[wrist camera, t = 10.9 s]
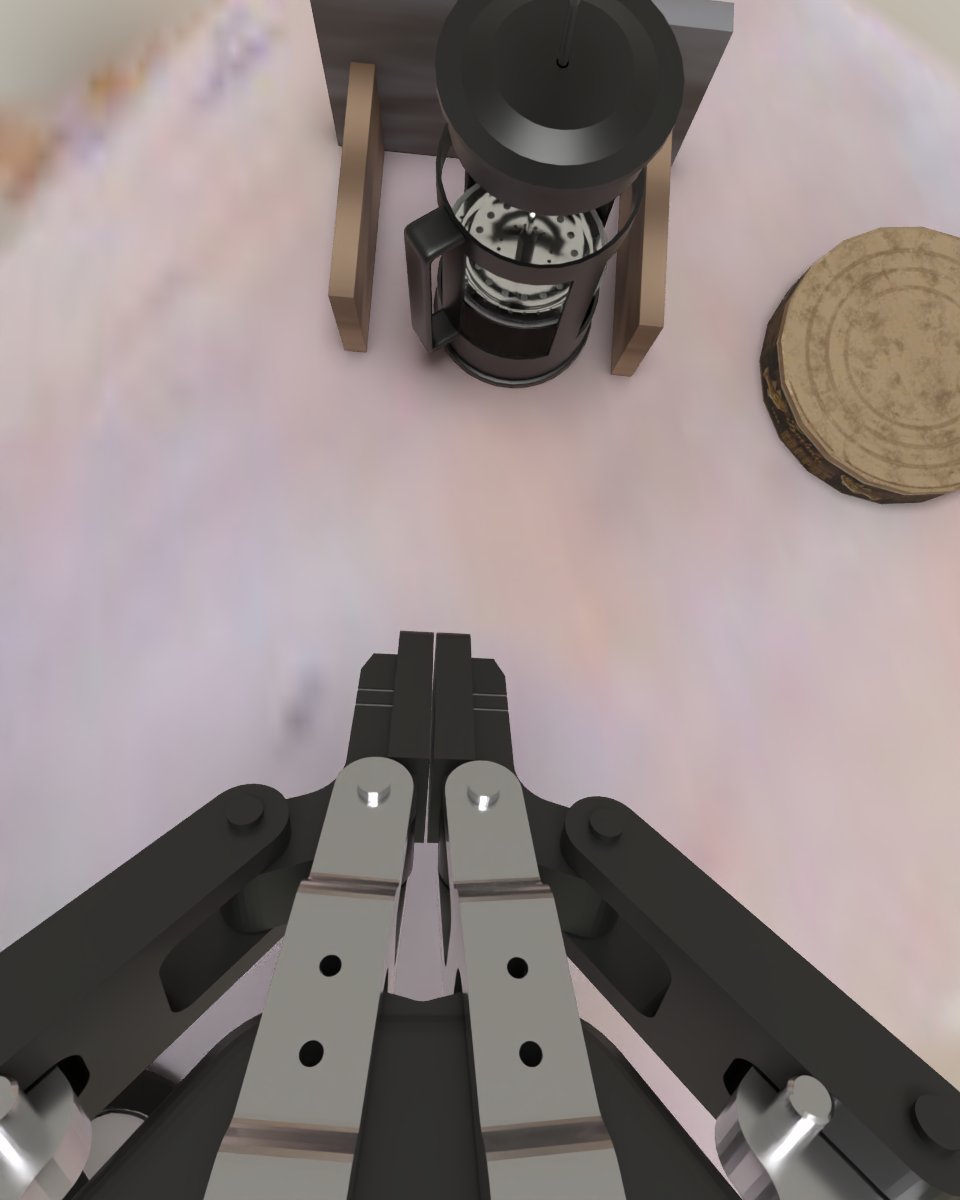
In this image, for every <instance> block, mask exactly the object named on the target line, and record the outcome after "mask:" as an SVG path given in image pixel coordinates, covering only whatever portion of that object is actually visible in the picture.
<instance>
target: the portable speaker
mask: <svg viewBox="0 0 960 1200" xmlns="http://www.w3.org/2000/svg"><path fill="white" fill-rule="evenodd" d="M176 1087H177V1085H176V1084H175V1083H173V1082H171V1081H170V1080H168V1079H166V1078H164V1077H162V1076H160V1075H158V1074H156V1073H154V1072H150V1071H146V1070H144V1071H143V1072H142V1073H141V1074H140V1075H138V1076H137V1077H136V1078H135V1079H134V1080H133V1081H132V1082H131V1083H130V1084H129V1085H128V1086H127V1087H126V1088H125V1089H124V1090H123V1091H122V1092H121V1093H120V1094H119V1095H118V1096H117V1097H116V1098H115V1099H114V1100H112V1101H111V1102H110V1103H109V1104H108V1105H107V1106H106V1107H105V1108H104V1109H103V1110H102V1111H101V1112H100V1113H99V1114H98V1115H97V1116H96V1117H95V1118H94V1119H93V1120H92V1121H91V1122H90V1123H91V1128H92V1142H91V1148H90V1152H89V1156H88V1159H87V1161H86V1164H85V1166H84V1168H83V1170H82V1172H81V1174H80V1176H79V1178H78V1179H77V1181H76V1182H75V1184H74V1185H73V1187H72V1188H71V1189H70V1190H69V1192H68V1193H67V1194H66V1195H65V1197H64V1198H63V1199H62V1200H71V1199H72V1198H73V1197H74V1196H75V1195H76V1194H77V1193H78V1192H79V1191H80V1190H81V1188H82V1187H83V1186H84V1185H85V1184H86V1183H87V1182H88V1181H89V1180H90V1179H91V1178H92V1177H93V1176H94V1175H95V1173H96V1172H97V1171H98V1170H99V1169H100V1168H101V1167H102V1166H103V1165H104V1164H105V1163H106V1162H107V1161H108V1160H109V1158H110V1157H111V1156H112V1155H113V1154H114V1153H115V1152H116V1151H117V1150H118V1149H119V1148H120V1147H121V1146H122V1145H123V1143H124V1142H125V1141H126V1140H127V1139H128V1138H129V1137H130V1136H131V1135H132V1134H133V1133H134V1132H135V1131H136V1130H137V1128H138V1127H139V1126H140V1125H141V1124H142V1123H143V1122H144V1121H145V1120H146V1119H147V1118H148V1117H149V1116H150V1114H151V1113H152V1112H153V1111H154V1110H155V1109H156V1108H157V1107H158V1106H159V1105H160V1104H161V1103H162V1102H163V1101H164V1099H165V1098H166V1097H167V1096H168V1095H169V1094H170V1093H171V1092H172V1091H173V1090H174V1089H175V1088H176Z"/></svg>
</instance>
